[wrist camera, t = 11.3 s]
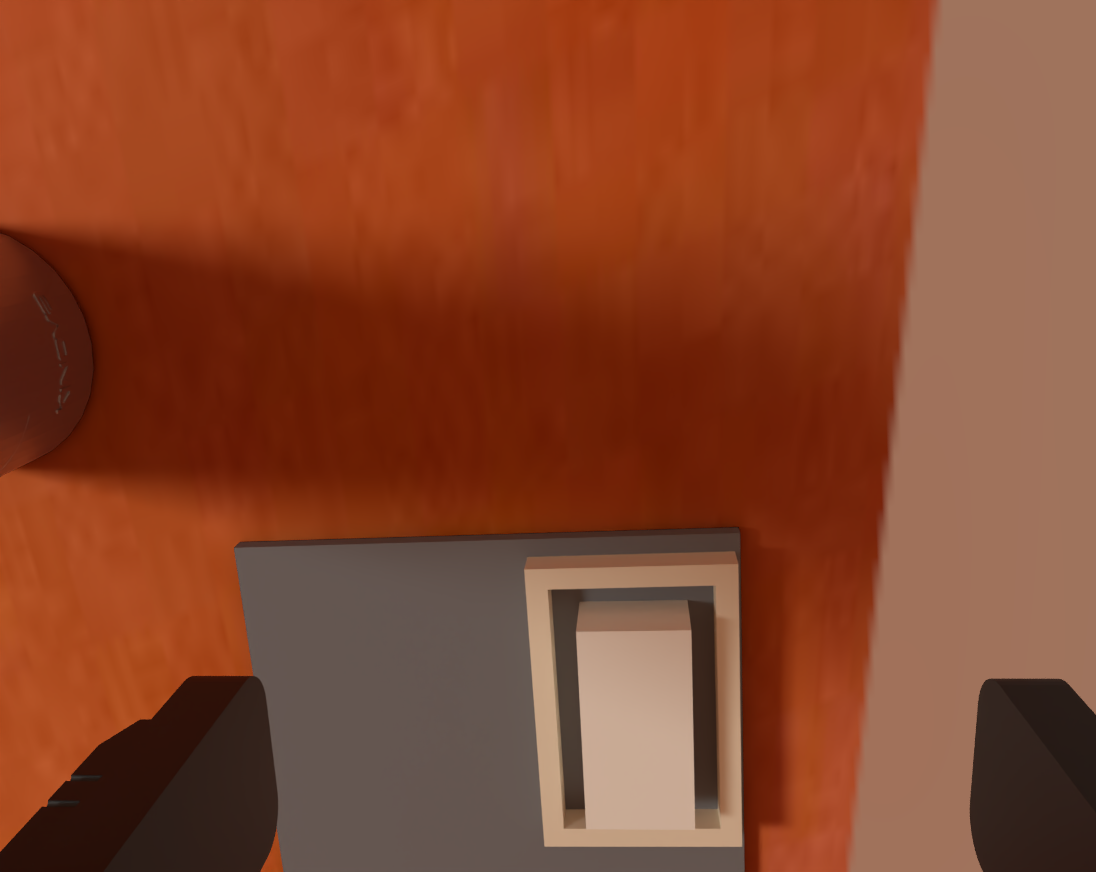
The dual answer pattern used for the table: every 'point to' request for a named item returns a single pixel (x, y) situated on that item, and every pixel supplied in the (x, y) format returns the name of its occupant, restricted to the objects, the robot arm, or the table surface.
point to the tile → (636, 714)
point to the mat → (478, 697)
